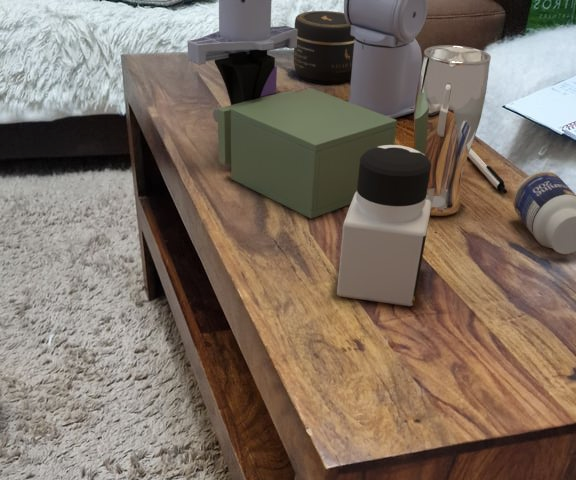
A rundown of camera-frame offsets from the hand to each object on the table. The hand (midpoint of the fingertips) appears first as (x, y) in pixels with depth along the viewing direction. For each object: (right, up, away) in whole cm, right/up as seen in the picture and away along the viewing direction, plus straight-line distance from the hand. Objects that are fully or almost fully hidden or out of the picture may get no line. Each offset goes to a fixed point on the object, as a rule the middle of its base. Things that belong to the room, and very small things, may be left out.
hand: (243, 123), depth 92 cm
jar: (+11, +21, +27) cm, 36 cm away
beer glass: (+21, -12, -6) cm, 25 cm away
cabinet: (+8, -9, -3) cm, 12 cm away
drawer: (+4, -5, -1) cm, 6 cm away
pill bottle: (+32, -12, -9) cm, 35 cm away
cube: (+1, +15, +20) cm, 25 cm away
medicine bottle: (+14, -25, -19) cm, 34 cm away
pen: (+29, -4, +3) cm, 29 cm away
